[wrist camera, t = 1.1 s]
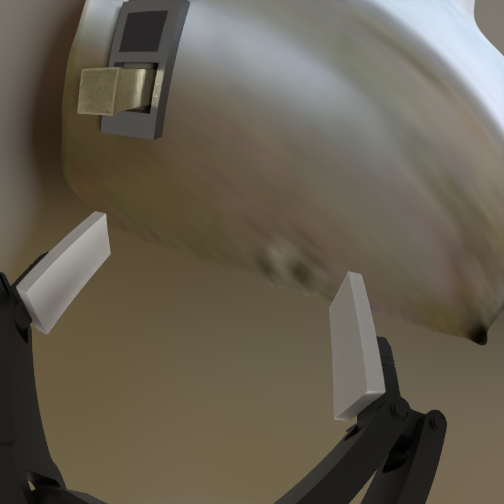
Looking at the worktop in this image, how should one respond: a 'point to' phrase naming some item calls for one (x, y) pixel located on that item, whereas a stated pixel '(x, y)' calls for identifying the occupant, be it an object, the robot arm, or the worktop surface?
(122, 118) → the grey flat piece
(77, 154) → the worktop surface
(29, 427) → the robot arm
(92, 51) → the worktop surface
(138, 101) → the tan block
